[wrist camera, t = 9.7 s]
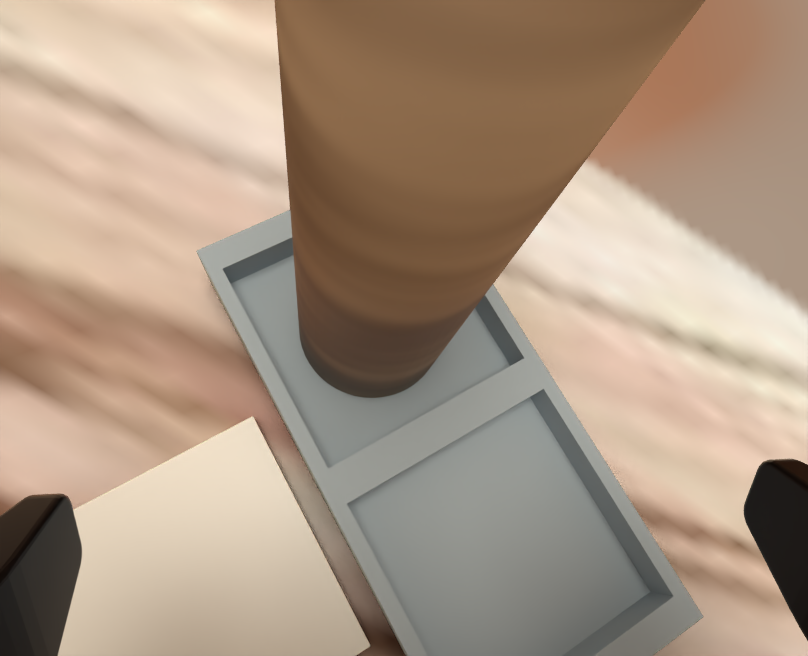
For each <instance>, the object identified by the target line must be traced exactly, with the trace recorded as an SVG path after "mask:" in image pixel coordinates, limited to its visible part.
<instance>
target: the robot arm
mask: <svg viewBox="0 0 808 656" xmlns="http://www.w3.org/2000/svg"><path fill="white" fill-rule="evenodd" d="M744 517H745V521H746V523H747V526H748V528H749V530H750V532H751V534H752V536H753V538H754V539H755V541H756V543H757V545H758V547H759V549H760V551H761V553H762V555H763V557H764V559H765V561H766V563H767V565H768V567H769V569H770V571H771V573H772V575H773V577H774V579H775V581H776V583H777V585H778V587H779V589H780V591H781V593H782V595H783V597H784V598H785V600H786V602H787V604H788V606H789V608H790V610H791V612H792V614H793V616H794V618H795V620H796V621H797V623H798V625H799V627H800V629H801V630H802V632H803V634H804V635H805V637H806V639H807V640H808V465H807V464H805V463H803V462H801V461H798V460H794V459H775V460H767V461H764V462H763V463H762V464H761V465H760V466H759V468H758V470H757V472H756V475H755V478H754V480H753V483H752V485H751V488H750V491H749V493H748V496H747V498H746V501H745V504H744ZM81 560H82V544H81V539H80V535H79V531H78V527H77V523H76V519H75V515H74V511H73V507H72V504H71V501H70V499H69V498H68V496H66V495H64V494H42V495H32V496H28V497H26V498H24V499H23V500H21V501H20V502H19V503H17V504H16V505H14V506H13V507H12V508H10V509H9V510H8V511H6V512H5V513H3V514H2V515H1V516H0V656H58V652H59V648H60V645H61V641H62V637H63V633H64V629H65V625H66V621H67V617H68V613H69V609H70V605H71V601H72V597H73V593H74V590H75V586H76V582H77V578H78V574H79V570H80V566H81Z"/></svg>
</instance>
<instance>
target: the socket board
mask: <svg viewBox="0 0 808 656" xmlns="http://www.w3.org/2000/svg"><path fill="white" fill-rule="evenodd" d="M197 254H198V256H199V258H200V260H201V262H202V264H203V267H204V269H205V271H206V273H207V275H208V277H209V280H210V282H211V284H212V286H213V288H214V290H215V291H216V293H217V295H218V297H219V299H220V301H221V303H222V305H223V307H224V309H225V311H226V313H227V314H228V316H229V318H230V320H231V322H232V324H233V326H234V328H235V330H236V332H237V334H238V336H239V337H240V339H241V341H242V343H243V345H244V347H245V349H246V351H247V353H248V355H249V357H250V358H251V360H252V362H253V364H254V366H255V368H256V370H257V372H258V374H259V376H260V378H261V380H262V381H263V383H264V385H265V387H266V389H267V391H268V393H269V395H270V397H271V399H272V401H273V403H274V404H275V406H276V408H277V410H278V412H279V414H280V416H281V418H282V420H283V422H284V424H285V426H286V427H287V429H288V431H289V433H290V435H291V437H292V439H293V441H294V443H295V445H296V447H297V449H298V450H299V452H300V454H301V456H302V458H303V460H304V462H305V464H306V466H307V468H308V470H309V471H310V473H311V475H312V477H313V479H314V481H315V483H316V485H317V487H318V489H319V491H320V493H321V494H322V496H323V498H324V500H325V502H326V504H327V506H328V508H329V510H330V512H331V514H332V516H333V517H334V519H335V521H336V523H337V525H338V527H339V529H340V531H341V533H342V535H343V537H344V539H345V540H346V542H347V544H348V546H349V548H350V550H351V552H352V554H353V556H354V558H355V560H356V562H357V563H358V565H359V567H360V569H361V571H362V573H363V575H364V577H365V579H366V581H367V583H368V584H369V586H370V588H371V590H372V592H373V594H374V596H375V598H376V600H377V602H378V604H379V606H380V607H381V609H382V611H383V613H384V615H385V617H386V619H387V621H388V623H389V625H390V627H391V629H392V630H393V632H394V634H395V636H396V638H397V640H398V642H399V644H400V646H401V648H402V650H403V652H404V653H405V655H406V656H653V655H654V654H656V653H657V652H658V651H660V650H661V649H662V648H663V647H665V646H666V645H667V644H669V643H670V642H671V641H673V640H674V639H675V638H677V637H678V636H679V635H680V634H682V633H683V632H684V631H686V630H687V629H688V628H690V627H691V626H692V625H694V624H695V623H696V622H698V621H699V620H700V619H701V618H703V615H702V614H701V612H700V610H699V609H698V607H697V606H696V604H695V603H694V601H693V599H692V598H691V596H690V595H689V593H688V591H687V590H686V588H685V587H684V585H683V584H682V582H681V580H680V579H679V577H678V576H677V574H676V573H675V571H674V569H673V568H672V566H671V565H670V563H669V561H668V560H667V558H666V557H665V555H664V554H663V552H662V550H661V549H660V547H659V546H658V544H657V542H656V541H655V539H654V538H653V536H652V535H651V533H650V531H649V530H648V528H647V527H646V525H645V523H644V522H643V520H642V519H641V517H640V516H639V514H638V512H637V511H636V509H635V508H634V506H633V504H632V503H631V501H630V500H629V498H628V497H627V495H626V493H625V492H624V490H623V489H622V487H621V485H620V484H619V482H618V481H617V479H616V478H615V476H614V474H613V473H612V471H611V470H610V468H609V466H608V465H607V463H606V462H605V460H604V459H603V457H602V455H601V454H600V452H599V451H598V449H597V448H596V446H595V444H594V443H593V441H592V440H591V438H590V436H589V435H588V433H587V432H586V430H585V429H584V427H583V425H582V424H581V422H580V421H579V419H578V417H577V416H576V414H575V413H574V411H573V410H572V408H571V406H570V405H569V403H568V402H567V400H566V398H565V397H564V395H563V394H562V392H561V391H560V389H559V387H558V386H557V384H556V383H555V381H554V379H553V378H552V376H551V375H550V373H549V372H548V370H547V368H546V367H545V365H544V364H543V362H542V360H541V359H540V357H539V356H538V354H537V353H536V351H535V349H534V348H533V346H532V345H531V343H530V342H529V340H528V338H527V337H526V335H525V334H524V332H523V330H522V329H521V327H520V326H519V324H518V323H517V321H516V319H515V318H514V316H513V315H512V313H511V311H510V310H509V308H508V307H507V305H506V304H505V302H504V300H503V299H502V297H501V296H500V294H499V292H498V291H497V289H496V288H495V286H494V285H492V286H491V287H490V289H489V290H488V291H487V293H486V294H485V295H484V297H483V298H482V299H481V301H480V302H479V303H478V305H477V306H476V307H475V309H474V310H473V311H472V313H471V314H470V315H469V317H468V318H467V319H466V321H465V322H464V323H463V325H462V326H461V327H460V329H459V330H458V331H457V333H456V334H455V335H454V337H453V338H452V339H451V341H450V342H449V343H448V345H447V346H446V347H445V349H444V350H443V351H442V353H441V354H440V355H439V357H438V358H437V359H436V361H435V362H434V363H433V365H432V366H431V367H430V369H429V370H428V371H427V372H426V374H425V375H424V376H423V377H422V378H421V379H420V380H419V381H418V382H416V383H415V384H414V385H412V386H411V387H409V388H407V389H406V390H404V391H402V392H399V393H396V394H394V395H390V396H385V397H377V398H366V397H359V396H354V395H351V394H347V393H345V392H342V391H340V390H338V389H336V388H334V387H333V386H331V385H330V384H328V383H327V382H326V381H324V380H323V379H322V378H321V377H320V376H319V375H318V374H317V373H316V372H315V371H314V369H313V368H312V366H311V365H310V364H309V362H308V360H307V358H306V356H305V354H304V351H303V349H302V345H301V341H300V334H299V321H298V307H297V294H296V281H295V267H294V254H293V240H292V227H291V213H290V210H289V211H286V212H284V213H282V214H280V215H277V216H275V217H273V218H270V219H268V220H266V221H264V222H261V223H259V224H257V225H254V226H252V227H250V228H248V229H245V230H243V231H241V232H238V233H236V234H234V235H232V236H229V237H227V238H225V239H222V240H220V241H218V242H216V243H213V244H211V245H209V246H206V247H204V248H202V249H199V250H197Z"/></svg>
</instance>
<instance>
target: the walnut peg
mask: <svg viewBox="0 0 808 656" xmlns="http://www.w3.org/2000/svg"><path fill="white" fill-rule="evenodd" d="M704 1H705V0H275V11H276V25H277V38H278V52H279V65H280V79H281V92H282V105H283V119H284V132H285V146H286V159H287V173H288V186H289V200H290V213H291V227H292V240H293V254H294V267H295V281H296V294H297V307H298V321H299V334H300V341H301V345H302V349H303V351H304V354H305V356H306V358H307V360H308V362H309V364H310V365H311V366H312V368H313V369H314V371H315V372H316V373H317V374H318V375H319V376H320V377H321V378H322V379H323V380H324V381H326V382H327V383H328V384H330V385H331V386H333V387H334V388H336V389H338V390H340V391H342V392H345V393H347V394H351V395H354V396H359V397H366V398H377V397H385V396H390V395H394V394H396V393H399V392H402V391H404V390H406V389H407V388H409V387H411V386H412V385H414V384H415V383H416V382H418V381H419V380H420V379H421V378H422V377H423V376H424V375H425V374H426V372H427V371H428V370H429V369H430V367H431V366H432V365H433V363H434V362H435V361H436V359H437V358H438V357H439V355H440V354H441V353H442V351H443V350H444V349H445V347H446V346H447V345H448V343H449V342H450V341H451V339H452V338H453V337H454V335H455V334H456V333H457V331H458V330H459V329H460V327H461V326H462V325H463V323H464V322H465V321H466V319H467V318H468V317H469V315H470V314H471V313H472V311H473V310H474V309H475V307H476V306H477V305H478V303H479V302H480V301H481V299H482V298H483V297H484V295H485V294H486V293H487V291H488V290H489V289H490V287H491V286H492V285H493V283H494V282H495V281H496V279H497V278H498V277H499V275H500V274H501V273H502V271H503V270H504V269H505V267H506V266H507V265H508V263H509V262H510V261H511V259H512V258H513V257H514V255H515V254H516V253H517V251H518V250H519V249H520V247H521V246H522V245H523V243H524V242H525V241H526V239H527V238H528V237H529V235H530V234H531V233H532V231H533V230H534V229H535V227H536V226H537V224H538V223H539V222H540V220H541V219H542V218H543V216H544V215H545V214H546V212H547V211H548V210H549V208H550V207H551V206H552V204H553V203H554V202H555V200H556V199H557V198H558V196H559V195H560V194H561V192H562V191H563V190H564V188H565V187H566V186H567V184H568V183H569V182H570V180H571V179H572V178H573V176H574V175H575V174H576V172H577V171H578V170H579V168H580V167H581V166H582V164H583V163H584V162H585V160H586V159H587V158H588V156H589V155H590V154H591V152H592V151H593V150H594V148H595V147H596V146H597V144H598V143H599V142H600V140H601V139H602V137H603V136H604V135H605V133H606V132H607V131H608V130H609V128H610V127H611V126H612V124H613V123H614V122H615V120H616V119H617V117H618V116H619V115H620V114H621V112H622V111H623V110H624V108H625V107H626V105H627V104H628V103H629V102H630V100H631V99H632V98H633V96H634V95H635V94H636V92H637V91H638V90H639V88H640V87H641V86H642V84H643V83H644V82H645V80H646V79H647V78H648V76H649V75H650V74H651V72H652V71H653V70H654V68H655V67H656V66H657V64H658V63H659V62H660V60H661V59H662V58H663V56H664V55H665V54H666V52H667V51H668V49H669V48H670V47H671V46H672V44H673V43H674V42H675V40H676V39H677V38H678V36H679V35H680V34H681V32H682V31H683V30H684V28H685V27H686V25H687V24H688V23H689V22H690V20H691V19H692V18H693V16H694V15H695V14H696V12H697V11H698V10H699V8H700V7H701V5H702V4H703V3H704Z"/></svg>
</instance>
